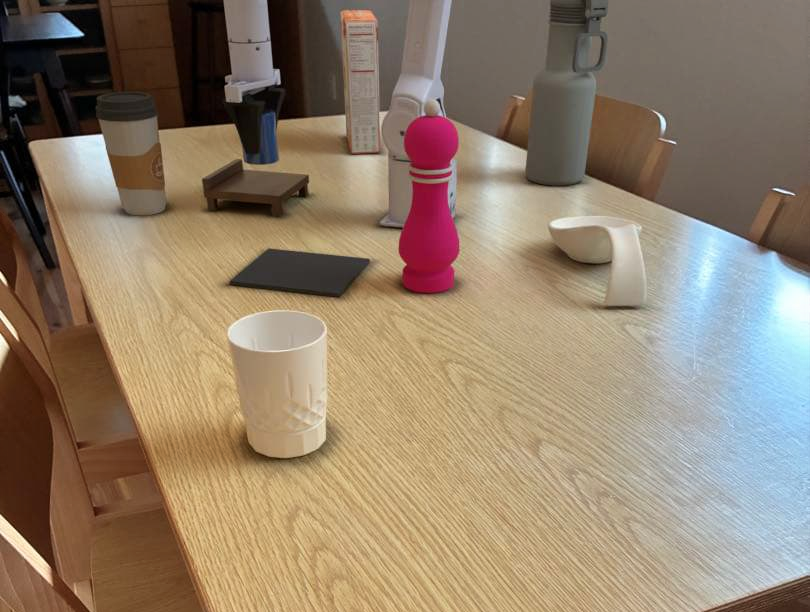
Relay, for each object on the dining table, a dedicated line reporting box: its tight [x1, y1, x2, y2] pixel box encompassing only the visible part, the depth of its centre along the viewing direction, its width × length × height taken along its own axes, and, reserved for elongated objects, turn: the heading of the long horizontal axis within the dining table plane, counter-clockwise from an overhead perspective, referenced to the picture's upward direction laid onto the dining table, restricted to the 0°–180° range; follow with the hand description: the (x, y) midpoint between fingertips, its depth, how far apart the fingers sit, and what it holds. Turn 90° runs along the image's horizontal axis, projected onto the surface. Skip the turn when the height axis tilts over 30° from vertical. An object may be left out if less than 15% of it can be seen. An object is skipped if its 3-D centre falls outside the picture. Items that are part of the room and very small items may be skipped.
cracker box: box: [339, 9, 382, 155], centre depth 146 cm, size 14×6×21 cm, turn 6°
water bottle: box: [524, 0, 609, 187], centre depth 126 cm, size 10×10×28 cm
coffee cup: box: [95, 91, 167, 216], centre depth 116 cm, size 8×8×15 cm
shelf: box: [201, 158, 310, 218], centre depth 122 cm, size 12×12×4 cm
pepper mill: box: [398, 99, 460, 294], centre depth 92 cm, size 7×7×20 cm
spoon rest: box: [547, 215, 647, 307], centre depth 99 cm, size 24×12×7 cm, turn 3°
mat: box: [229, 248, 371, 298], centre depth 100 cm, size 14×12×1 cm
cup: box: [241, 108, 280, 166], centre depth 117 cm, size 5×5×7 cm
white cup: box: [226, 309, 329, 459], centre depth 67 cm, size 8×8×10 cm
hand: (260, 148), depth 118 cm, fingers closed on cup, 5 cm apart
